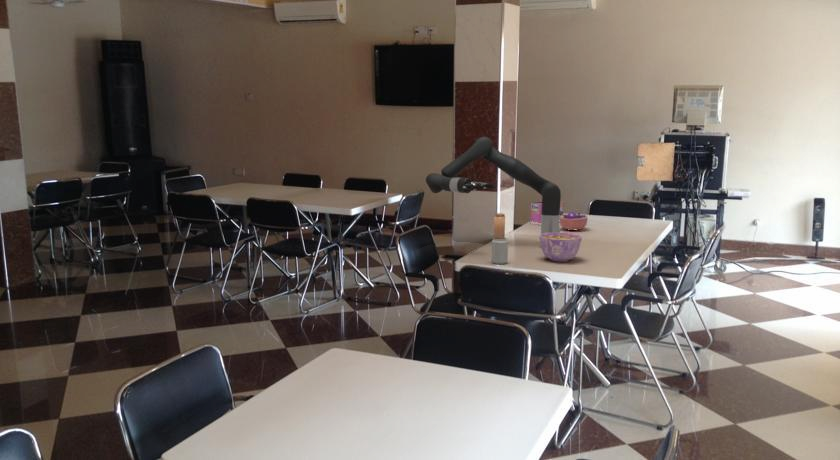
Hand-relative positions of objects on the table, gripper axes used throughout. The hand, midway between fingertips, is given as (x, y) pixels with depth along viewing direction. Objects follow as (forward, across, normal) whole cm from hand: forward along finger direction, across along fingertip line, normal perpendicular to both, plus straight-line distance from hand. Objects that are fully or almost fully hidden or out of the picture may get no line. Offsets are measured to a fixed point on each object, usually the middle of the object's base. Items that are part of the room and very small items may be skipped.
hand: (488, 187), depth 335 cm
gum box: (-28, +111, +34) cm, 119 cm away
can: (+12, -9, +34) cm, 37 cm away
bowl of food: (+31, +15, +34) cm, 49 cm away
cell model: (-3, +96, +34) cm, 102 cm away
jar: (+12, -9, +22) cm, 26 cm away
